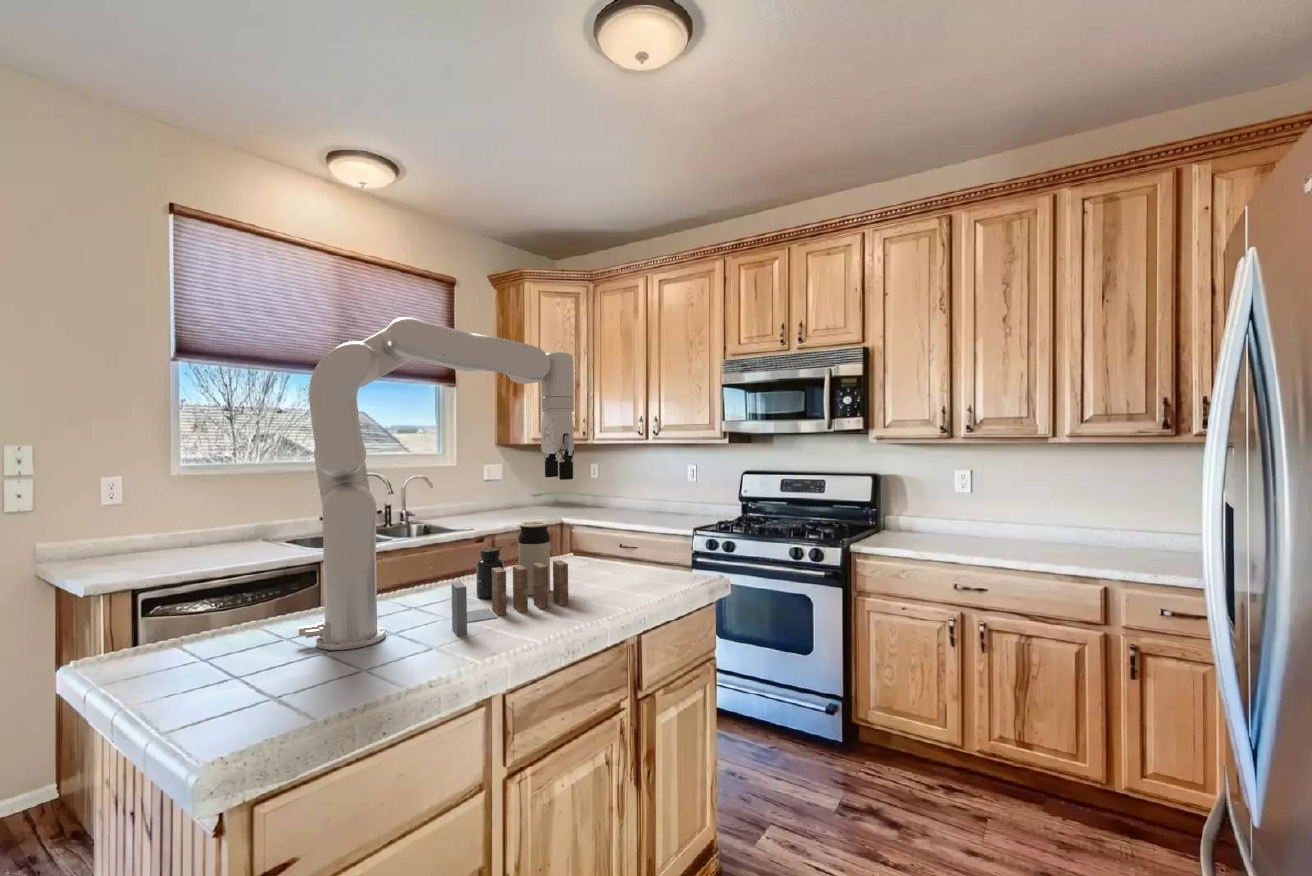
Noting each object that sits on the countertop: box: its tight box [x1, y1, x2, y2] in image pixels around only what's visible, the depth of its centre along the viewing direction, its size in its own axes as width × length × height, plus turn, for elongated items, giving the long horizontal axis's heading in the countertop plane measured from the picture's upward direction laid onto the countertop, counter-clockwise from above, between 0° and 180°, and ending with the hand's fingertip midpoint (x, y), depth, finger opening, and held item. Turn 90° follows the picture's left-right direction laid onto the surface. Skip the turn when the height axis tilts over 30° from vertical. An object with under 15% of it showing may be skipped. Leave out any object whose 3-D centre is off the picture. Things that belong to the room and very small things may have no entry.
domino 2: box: [491, 567, 508, 617], centre depth 145 cm, size 2×5×10 cm, turn 29°
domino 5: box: [552, 559, 569, 608], centre depth 152 cm, size 2×5×10 cm, turn 29°
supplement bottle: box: [475, 547, 505, 600], centre depth 160 cm, size 7×7×12 cm
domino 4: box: [533, 563, 549, 610], centre depth 150 cm, size 2×5×10 cm, turn 29°
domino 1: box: [451, 581, 468, 637], centre depth 131 cm, size 2×5×10 cm, turn 29°
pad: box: [467, 608, 498, 624], centre depth 142 cm, size 7×8×1 cm
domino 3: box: [512, 564, 529, 614], centre depth 147 cm, size 2×5×10 cm, turn 29°
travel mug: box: [517, 520, 551, 596], centre depth 163 cm, size 8×8×18 cm
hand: (558, 478), depth 147 cm, fingers open, 9 cm apart
